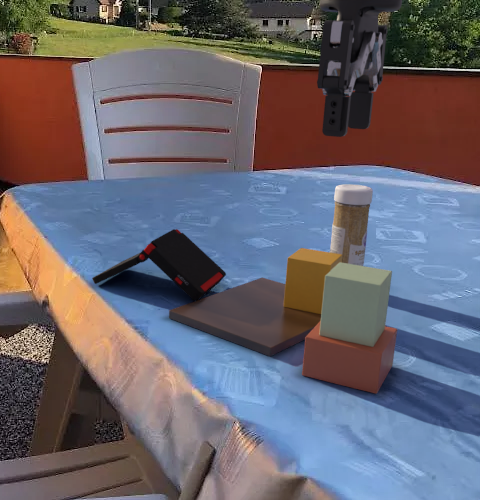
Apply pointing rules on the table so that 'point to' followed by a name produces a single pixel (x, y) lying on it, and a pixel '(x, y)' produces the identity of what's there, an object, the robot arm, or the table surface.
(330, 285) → the middle block
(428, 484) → the table surface
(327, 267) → the top block
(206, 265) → the handheld gaming console
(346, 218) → the spice jar
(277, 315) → the board
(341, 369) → the base block
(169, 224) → the table surface
